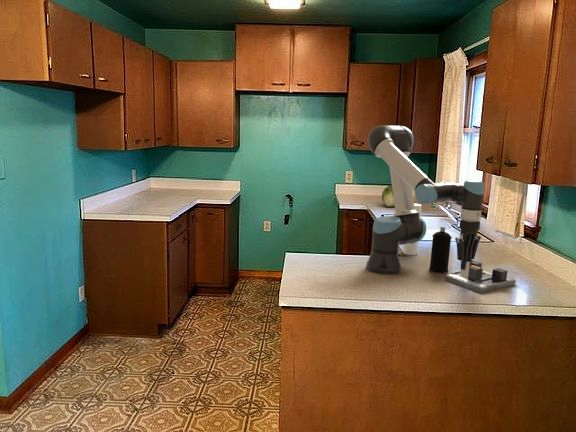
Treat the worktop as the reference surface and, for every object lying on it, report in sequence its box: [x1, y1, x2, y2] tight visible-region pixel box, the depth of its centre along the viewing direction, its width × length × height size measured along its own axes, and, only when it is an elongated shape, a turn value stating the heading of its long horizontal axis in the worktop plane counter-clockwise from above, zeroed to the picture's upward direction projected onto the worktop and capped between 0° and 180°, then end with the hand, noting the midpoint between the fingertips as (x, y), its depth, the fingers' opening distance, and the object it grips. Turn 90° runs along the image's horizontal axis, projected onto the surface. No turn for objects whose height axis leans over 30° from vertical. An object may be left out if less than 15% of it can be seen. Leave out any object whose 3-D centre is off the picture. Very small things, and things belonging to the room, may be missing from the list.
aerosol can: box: [428, 226, 452, 274], centre depth 208 cm, size 8×8×20 cm
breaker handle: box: [468, 265, 484, 280], centre depth 193 cm, size 4×4×5 cm
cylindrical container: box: [402, 202, 423, 256], centre depth 236 cm, size 7×7×25 cm
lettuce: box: [381, 184, 395, 208], centre depth 374 cm, size 17×23×16 cm
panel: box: [444, 260, 517, 294], centre depth 195 cm, size 22×18×6 cm
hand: (463, 276), depth 190 cm, fingers closed
